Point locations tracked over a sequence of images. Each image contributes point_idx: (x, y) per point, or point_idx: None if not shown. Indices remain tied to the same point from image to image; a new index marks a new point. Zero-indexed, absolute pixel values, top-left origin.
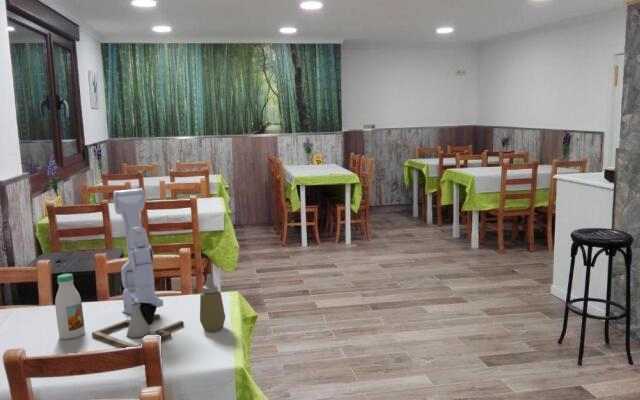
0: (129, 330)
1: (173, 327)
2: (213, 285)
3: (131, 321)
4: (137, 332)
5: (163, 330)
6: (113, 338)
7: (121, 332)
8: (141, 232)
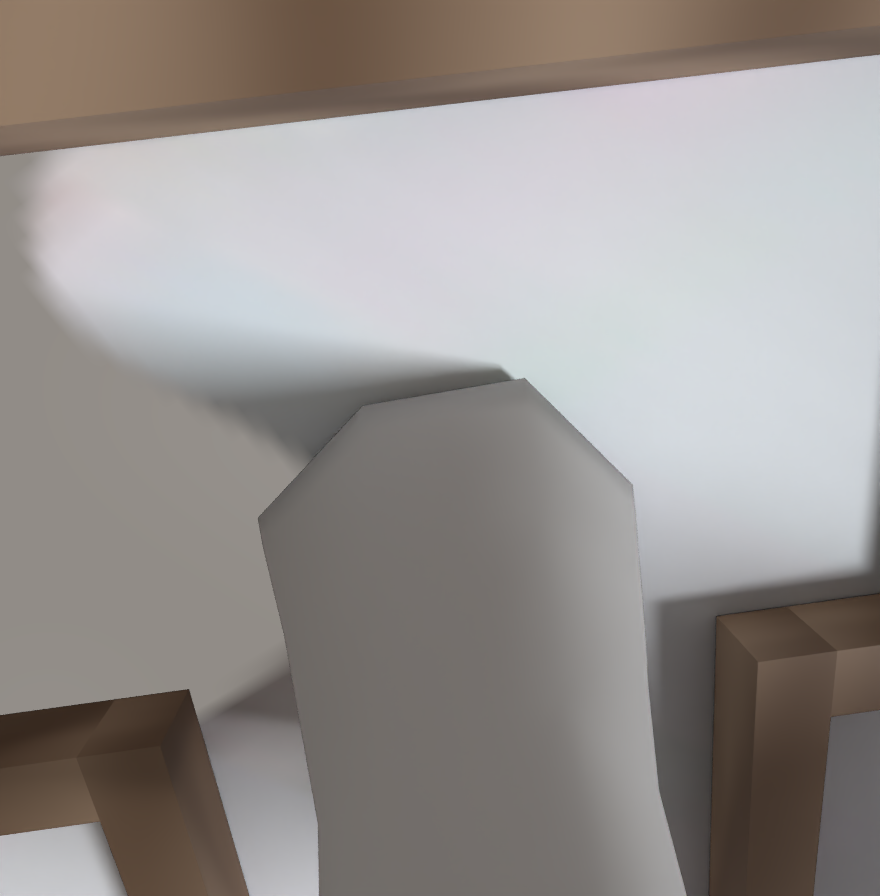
0: (480, 448)
1: None
2: None
3: (488, 601)
4: (306, 519)
5: (114, 829)
6: (445, 21)
7: (778, 413)
8: None
